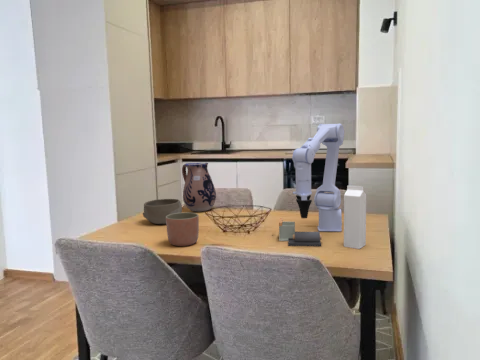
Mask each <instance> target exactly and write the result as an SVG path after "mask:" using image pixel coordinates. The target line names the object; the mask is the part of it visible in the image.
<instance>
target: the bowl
mask: <svg viewBox="0 0 480 360" xmlns="http://www.w3.org/2000/svg"><path fill="white" fill-rule="evenodd" d="M174 213H183V205H182V202H181V200H180V199H178V198H177V199H176V198H162V199H161V198H160V199H152V200H148V201H145V203H143V212H142V216H143V218H144V219H146V220H147V221H148V222H150V223H152V224H155V225H166V216H167V215H169V214H174Z"/></svg>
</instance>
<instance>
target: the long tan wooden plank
mask: <svg viewBox="0 0 480 360" xmlns="http://www.w3.org/2000/svg"><path fill="white" fill-rule="evenodd" d="M283 222H284V218H283V217H279V220H278V227H279V226H282V223H283Z"/></svg>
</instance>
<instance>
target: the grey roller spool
mask: <svg viewBox="0 0 480 360" xmlns="http://www.w3.org/2000/svg"><path fill="white" fill-rule="evenodd" d="M320 232H321V231H295V235H293V239H295V242H301V243H320V241H322V239H323V235H322V234H320Z"/></svg>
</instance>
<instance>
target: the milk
mask: <svg viewBox="0 0 480 360" xmlns="http://www.w3.org/2000/svg"><path fill="white" fill-rule="evenodd" d="M346 187H347V188H346V191H345V193H344V195H343V247H345V248H351V249H355V250H356V249H357V250H360V249H362V248H363V247H364V246H366V242H367V241H366V240H367V238H366V237H367V235H366V234H367V193H366V192H365V191H364V186H363V185H350V184H349V185H347V186H346Z"/></svg>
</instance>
